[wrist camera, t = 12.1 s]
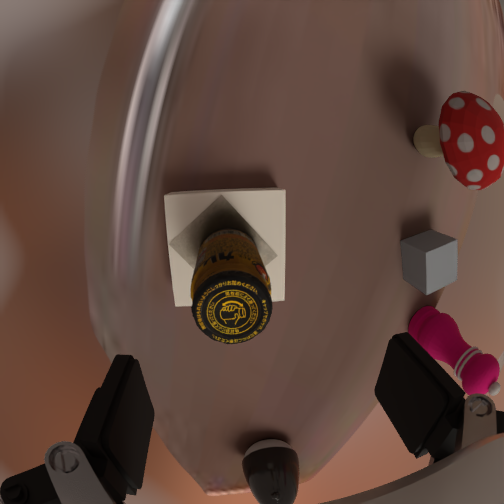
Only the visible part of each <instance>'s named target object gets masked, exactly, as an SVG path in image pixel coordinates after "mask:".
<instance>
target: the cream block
mask: <svg viewBox="0 0 504 504" xmlns="http://www.w3.org/2000/svg"><path fill="white" fill-rule="evenodd" d="M220 195H222V196H223V197H224V198H225V199H226V200H227V201H228V202H229V203H230V204H231V205H232V206H233V207H234V208H235V209H236V211H237V212H238V213H239V214H240V215H241V216H242V217H243V218H244V219H245V220H246V221H247V223H248V224H249V225H250V226H251V227H252V228H253V229H254V230H255V231H256V232H257V233H258V234H259V236H260V237H261V238H262V239H263V240H264V241H265V242H266V243H267V244H268V245H269V247H270V248H271V249H272V250H273V251H274V252H275V253H276V254H277V255H278V256H277V257H276V258H274V259H273V260H272V261H271V262H270V263H269V264H268V265H266V266H265V268H266V271H267V273H268V276H269V277H270V283H271V298H272V301H284V292H285V219H286V203H285V190H284V189H281V188H239V189H215V190H197V191H181V192H170V193H168V194H166V195H164V202H165V216H166V228H167V239H168V249H169V259H170V268H171V276H172V284H173V292H174V299H175V306H192V299H191V290H190V289H191V281H192V277H193V273H194V269H193V268H192V267H191V266H190V265H189V264H188V263H187V262H186V261H185V260H184V259H183V258H182V257H181V256H180V255H179V254H178V253H177V252H176V251H175V250H174V249H173V248H172V247H171V246H170V245H169V244H170V243H171V242H172V241H173V240H174V239H175V238H176V237H177V236H178V235H179V234H180V233H181V232H182V231H183V230H184V229H185V228H186V227H187V226H188V225H189V224H190V223H191V222H192V221H193V220H194V219H196V218H197V217H198V216H199V215H200V214H201V213H202V212H203V211H204V210H205V209H206V208H207V207H208V206H209V205H211V204H212V203H213V202H214V201H215V200H216V199H217V198H218V197H219V196H220Z"/></svg>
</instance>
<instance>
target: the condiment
mask: <svg viewBox="0 0 504 504" xmlns="http://www.w3.org/2000/svg"><path fill="white" fill-rule="evenodd" d="M169 245H170V246H171V247H172V248H173V249H174V250H175V251H176V252H177V253H178V254H179V255H180V256H181V257H182V258H183V259H184V260H185V261H186V262H187V263H188V264H189V265H190V266H191V267H192V268H193V269H194V273H193V277H192V281H191V289H190V290H191V299H192V307H191V308H192V313H193V317H194V319H195V321H196V324H197V326H198V327H199V329H200V330H201V331H202V332H203V333H205V335H207V336H208V337H210V338H211V339H213V340H215V341H219V342H223V343H226V344H237V343H242V342H245V341H248V340H250V339H252V338H254V337H255V336H256V335H258V334H259V333H261V332H262V331H263V330H264V329H265V327H266V325H267V324H268V322H269V320H270V317H271V314H272V298H271V283H270V277H269V276H268V273H267V271H266V268H265V266H266V265H268V264H269V263H270V262H271V261H272V260H273V259H274V258H276V257H277V256H278V255H277V254H276V253H275V252H274V251H273V250H272V249H271V248H270V247H269V245H268V244H267V243H266V242H265V241H264V240H263V239H262V238H261V237H260V236H259V234H258V233H257V232H256V231H255V230H254V229H253V228H252V227H251V226H250V225H249V224H248V223H247V221H246V220H245V219H244V218H243V217H242V216H241V215H240V214H239V213H238V212H237V211H236V209H235V208H234V207H233V206H232V205H231V204H230V203H229V202H228V201H227V200H226V199H225V198H224V197H223V196H222V195H220V196H219V197H218V198H217V199H216V200H215V201H214V202H213V203H212V204H211V205H209V206H208V207H207V208H206V209H205V210H204V211H203V212H202V213H201V214H200V215H199V216H198V217H197V218H196V219H194V220H193V221H192V222H191V223H190V224H189V225H188V226H187V227H186V228H185V229H184V230H183V231H182V232H181V233H180V234H179V235H178V236H177V237H176V238H175V239H174V240H173V241H172V242H171V243H170V244H169Z"/></svg>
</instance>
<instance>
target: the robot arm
mask: <svg viewBox="0 0 504 504" xmlns="http://www.w3.org/2000/svg"><path fill="white" fill-rule="evenodd" d="M464 395H465V392H464V391H463V390H462V389H461V388H460V386H459V385H458V384H457V383H456V382H455V381H454V380H453V379H452V378H451V377H450V375H449V374H448V373H446V371H445V370H444V369H443V368H442V367H441V366H440V365H439V364H438V363H437V362H436V361H435V360H434V359H433V357H432V356H431V355H430V354H429V353H428V352H427V351H426V350H425V349H424V348H423V347H422V346H421V345H420V344H419V343H418V342H417V341H416V340H415V339H414V338H413V337H412V336H411V335H410V334H409V333H408V332H405V333H400V334H395V335H393V337H392V339H390V340H389V343H388V346H387V350H386V353H385V357H384V360H383V364H382V367H381V370H380V374H379V377H378V380H377V383H376V386H375V396H376V397H377V399H378V401H379V402H380V404H381V405H382V407H383V409H384V411H385V412H386V414H387V415H388V417H389V419H390V420H391V422H392V424H393V425H394V427H395V429H396V430H397V432H398V434H399V435H400V437H401V438H402V440H403V442H404V444H405V446H406V447H407V449H408V450H409V452H410V453H412V454H414V455H415V457H416V458H419V457H421V456H423V455H425V454H427V453H428V452H429V453H430V455H431V457H430V462H429V466H427V467H425V468H423V469H421V470H419V471H417V472H415V473H412V474H410V475H408V476H405V477H403V478H401V479H398V480H395V481H393V482H390V483H388V484H385V485H382V486H379V487H377V488H374V489H371V490H368V491H365V492H361V493H358V494H355V495H352V496H348V497H345V498H341V499H337V500H333V501H329V502H325V503H320V504H504V412H502V411H497V410H496V408H495V404H494V402H493V401H492V400H491V399H490V398H489V397H488V396H486V395H484V394H480V393H475V394H471V395H470V396H468V397H467V399H466V400H465V399H464ZM153 421H154V408H153V405H152V402H151V400H150V397H149V394H148V391H147V387H146V384H145V381H144V378H143V375H142V371H141V368H140V364H139V361H138V360H137V359H134V358H133V356H132V355H116V356H115V358H114V360H113V362H112V364H111V367H110V369H109V371H108V373H107V375H106V378H105V380H104V382H103V384H102V386H101V388H98V389H96V391H95V393H94V395H93V397H92V400H91V402H90V404H89V407H88V409H87V411H86V414H85V416H84V418H83V421H82V423H81V425H80V428H79V430H78V432H77V435H76V438H75V440H74V442H73V443H71V442H58V443H56V444H54V445H52V446H51V447H50V448H49V449H48V450H47V452H46V454H45V459H44V460H45V464H42V465H40V466H38V467H35V468H33V469H30V470H28V471H25V472H23V473H20V474H17V475H14V476H12V477H9V478H7V479H6V480H5V481H4V482H3V483H2V485H1V488H0V495H1V496H0V504H125V502H124V500H125V498H126V494H130V495H136V492H137V489H141V487H142V483H143V477H144V470H145V464H146V459H147V453H148V447H149V442H150V436H151V431H152V426H153Z"/></svg>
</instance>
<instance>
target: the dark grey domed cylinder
mask: <svg viewBox="0 0 504 504" xmlns="http://www.w3.org/2000/svg"><path fill="white" fill-rule="evenodd" d="M242 467H243V472H244V475H245V478H246V481H247V483H248V485H249V487H250V489H251V491H252V493H253V495H254V497H255V498H256V499H257V501H258V502H259V503H260V504H293V503H294V500H295V499H296V496H297V492H298V485H299V460H298V455H297V453H296V452H295V451H294V450H293V449H292V447H291V446H290V445H289V444H287V443H286V442H284V441H281V440H276V439H267V440H262V441H259V442H257V443H255V444H253V445H252V446H251V447H250V448H249V449H248V450H247V451H246V453H245V456H244V459H243V461H242Z"/></svg>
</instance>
